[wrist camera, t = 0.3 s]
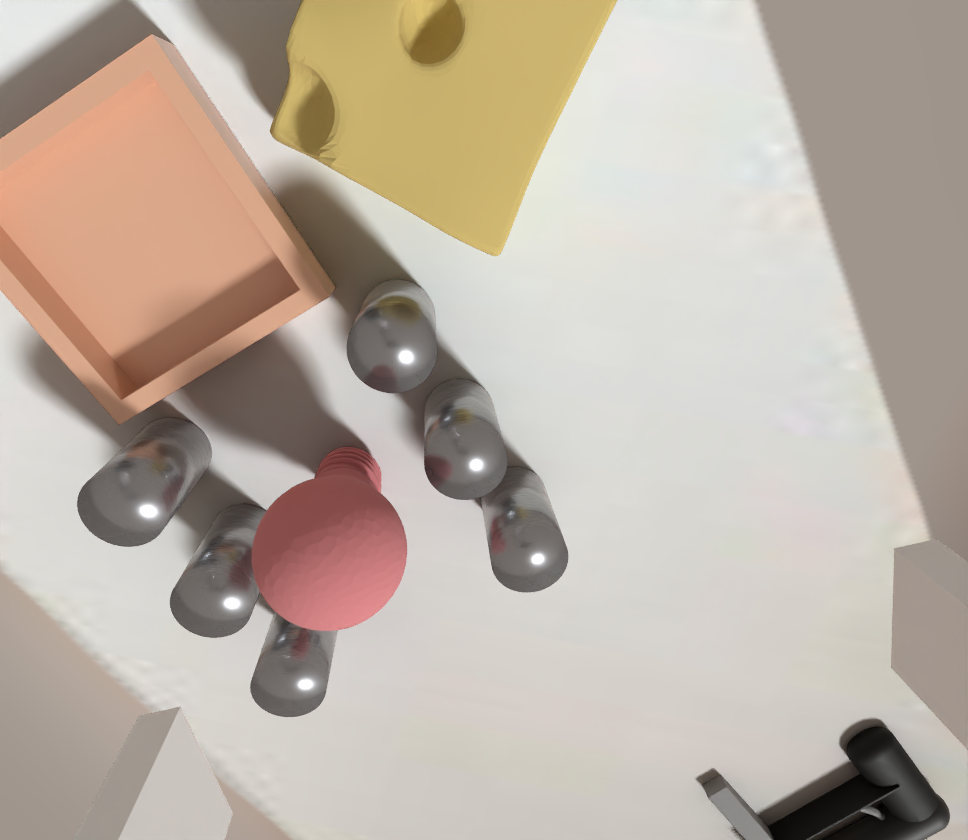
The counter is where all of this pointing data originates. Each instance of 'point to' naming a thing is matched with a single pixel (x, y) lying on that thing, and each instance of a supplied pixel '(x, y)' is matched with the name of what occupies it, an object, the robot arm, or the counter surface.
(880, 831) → the black submachine gun
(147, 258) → the dish
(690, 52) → the counter surface
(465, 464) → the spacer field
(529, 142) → the cheese
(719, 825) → the counter surface
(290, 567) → the light bulb
